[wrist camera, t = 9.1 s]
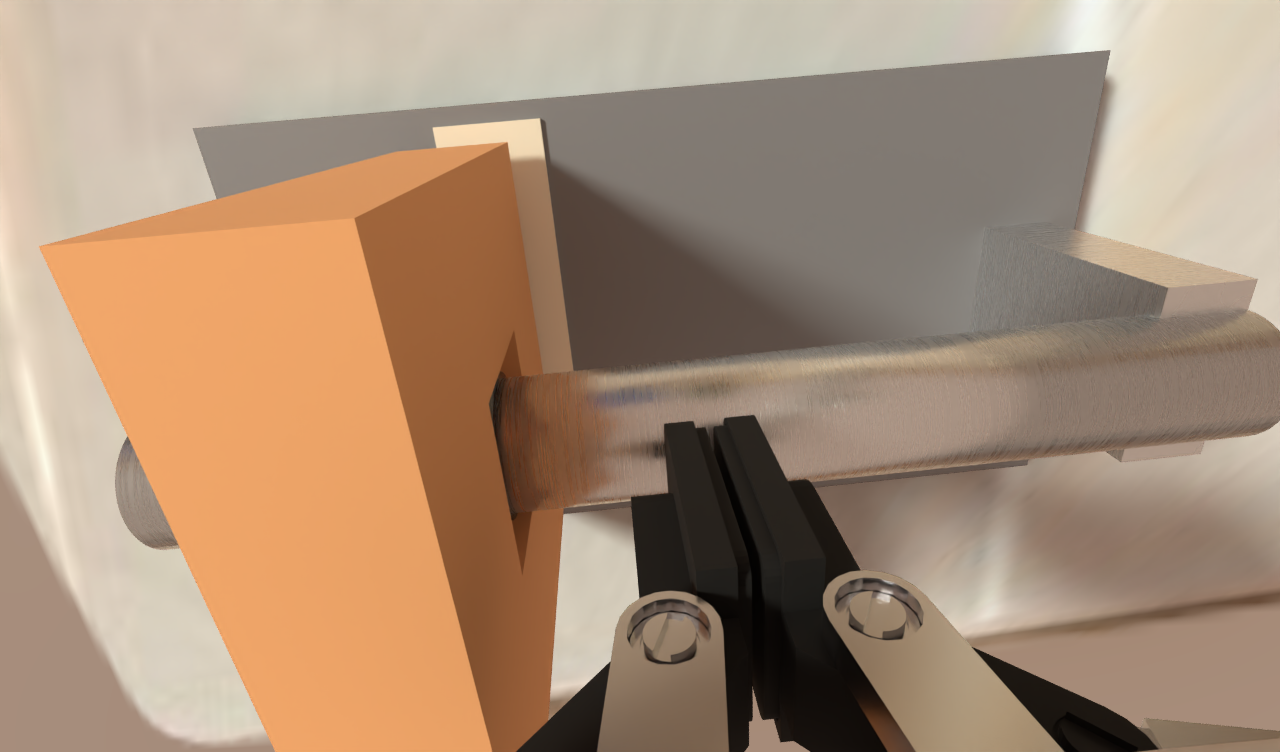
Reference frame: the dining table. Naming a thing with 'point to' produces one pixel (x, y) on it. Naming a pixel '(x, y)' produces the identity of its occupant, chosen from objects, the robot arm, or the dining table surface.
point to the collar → (341, 441)
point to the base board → (744, 201)
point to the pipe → (909, 385)
